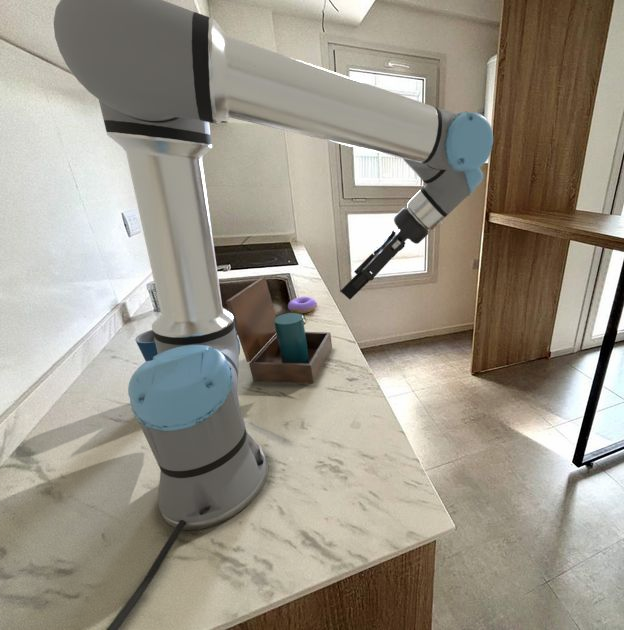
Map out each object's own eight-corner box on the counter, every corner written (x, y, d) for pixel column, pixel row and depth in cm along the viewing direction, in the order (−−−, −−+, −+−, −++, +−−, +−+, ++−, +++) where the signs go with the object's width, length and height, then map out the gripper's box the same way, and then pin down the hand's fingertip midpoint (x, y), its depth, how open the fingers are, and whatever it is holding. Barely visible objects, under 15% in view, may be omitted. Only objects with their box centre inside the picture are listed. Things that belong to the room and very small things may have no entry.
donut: (312, 301, 126) (311, 290, 123) (321, 314, 120) (320, 303, 117) (285, 306, 121) (284, 295, 118) (292, 320, 115) (291, 309, 112)
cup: (151, 395, 75) (128, 337, 68) (183, 380, 80) (164, 325, 74) (168, 405, 72) (146, 346, 66) (200, 388, 77) (181, 332, 71)
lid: (265, 276, 85) (262, 276, 85) (229, 300, 70) (226, 301, 70) (279, 329, 92) (276, 329, 92) (250, 361, 77) (246, 362, 77)
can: (295, 373, 82) (288, 326, 77) (276, 366, 85) (268, 320, 80) (314, 360, 88) (308, 316, 82) (296, 354, 90) (289, 310, 85)
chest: (332, 350, 94) (330, 332, 92) (313, 385, 79) (311, 365, 77) (281, 348, 94) (278, 330, 92) (253, 384, 79) (248, 363, 77)
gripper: (430, 244, 59) (353, 317, 66) (430, 222, 82) (373, 278, 89) (400, 213, 57) (323, 292, 64) (409, 199, 80) (352, 258, 87)
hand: (352, 284), depth 76 cm, fingers open, 13 cm apart
